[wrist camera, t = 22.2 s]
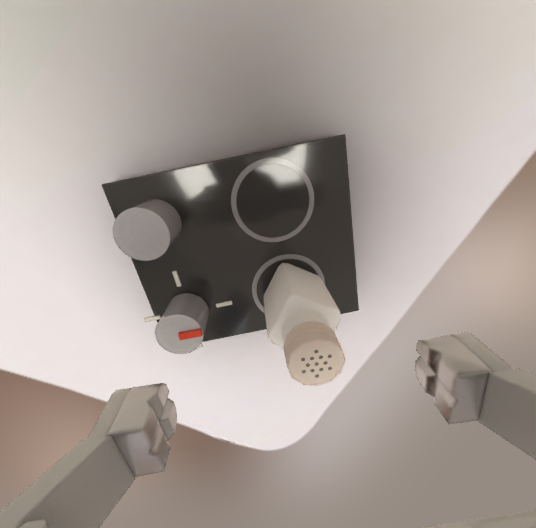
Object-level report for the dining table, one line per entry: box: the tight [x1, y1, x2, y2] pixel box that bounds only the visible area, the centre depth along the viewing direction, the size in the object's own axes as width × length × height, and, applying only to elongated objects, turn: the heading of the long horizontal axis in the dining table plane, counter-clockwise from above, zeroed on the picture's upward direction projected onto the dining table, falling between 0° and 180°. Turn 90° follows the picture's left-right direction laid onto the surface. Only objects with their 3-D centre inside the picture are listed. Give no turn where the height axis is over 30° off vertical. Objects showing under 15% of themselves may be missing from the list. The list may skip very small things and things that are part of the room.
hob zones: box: [113, 158, 325, 313], centre depth 21 cm, size 14×14×4 cm
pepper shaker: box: [264, 263, 345, 386], centre depth 19 cm, size 4×4×10 cm
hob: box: [102, 134, 359, 347], centre depth 24 cm, size 19×15×3 cm
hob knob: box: [155, 293, 209, 354], centre depth 23 cm, size 4×4×4 cm
